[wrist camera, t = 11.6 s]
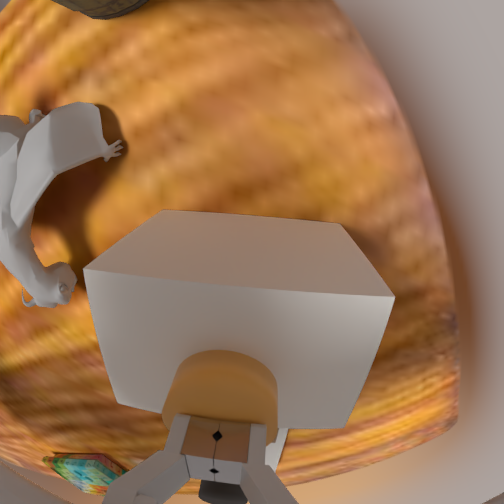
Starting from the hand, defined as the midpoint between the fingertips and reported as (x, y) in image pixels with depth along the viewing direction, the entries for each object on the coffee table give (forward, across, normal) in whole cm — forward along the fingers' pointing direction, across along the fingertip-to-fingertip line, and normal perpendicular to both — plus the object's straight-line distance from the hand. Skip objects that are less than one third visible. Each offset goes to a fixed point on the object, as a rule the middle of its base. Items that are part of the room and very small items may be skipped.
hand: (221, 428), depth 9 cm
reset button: (+2, 0, 0) cm, 2 cm away
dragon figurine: (+14, +18, -6) cm, 23 cm away
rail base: (+13, 0, +11) cm, 17 cm away
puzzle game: (+14, +26, +44) cm, 53 cm away
